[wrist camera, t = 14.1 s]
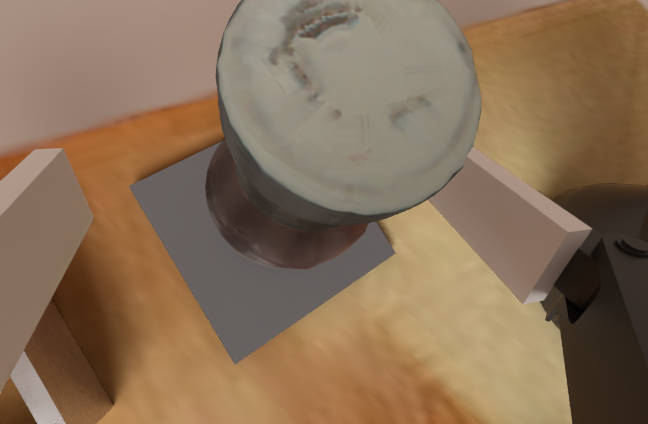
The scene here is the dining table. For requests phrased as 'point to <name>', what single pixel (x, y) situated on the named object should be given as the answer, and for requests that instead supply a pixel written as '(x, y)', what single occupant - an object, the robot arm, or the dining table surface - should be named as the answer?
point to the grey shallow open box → (58, 376)
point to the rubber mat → (241, 262)
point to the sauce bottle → (335, 121)
